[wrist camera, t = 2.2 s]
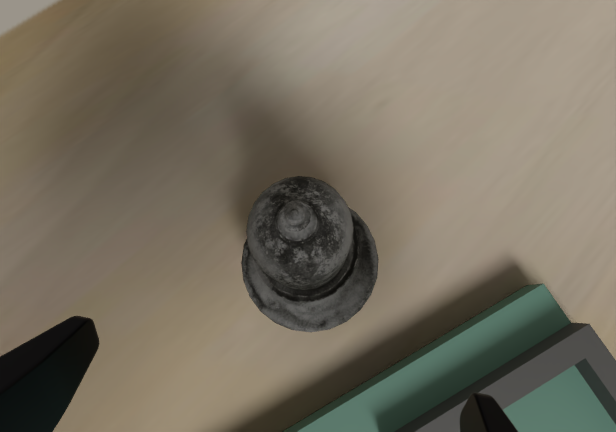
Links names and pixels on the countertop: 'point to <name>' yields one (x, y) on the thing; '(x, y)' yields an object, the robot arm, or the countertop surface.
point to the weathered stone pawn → (307, 256)
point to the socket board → (489, 376)
